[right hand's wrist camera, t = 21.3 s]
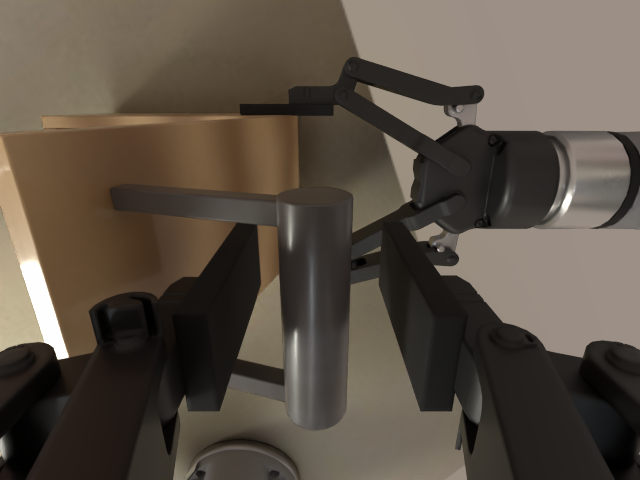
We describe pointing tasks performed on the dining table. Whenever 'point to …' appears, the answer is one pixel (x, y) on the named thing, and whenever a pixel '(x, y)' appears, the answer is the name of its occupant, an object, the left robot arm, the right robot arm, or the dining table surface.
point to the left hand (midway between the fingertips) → (249, 180)
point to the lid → (184, 236)
